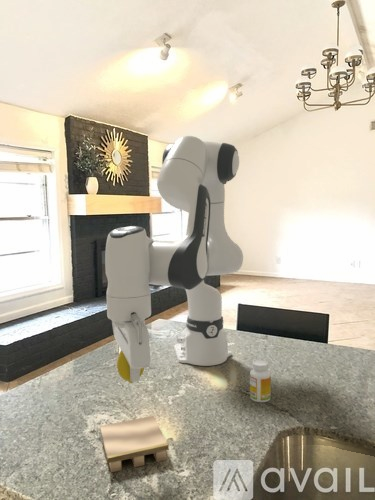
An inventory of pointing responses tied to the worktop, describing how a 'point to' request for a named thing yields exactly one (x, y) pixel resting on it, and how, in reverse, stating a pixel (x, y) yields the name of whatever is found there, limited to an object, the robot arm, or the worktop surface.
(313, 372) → the worktop surface
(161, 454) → the platform
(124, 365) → the lemon
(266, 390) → the supplement bottle
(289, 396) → the worktop surface
